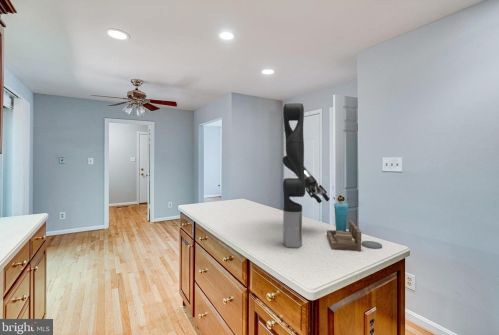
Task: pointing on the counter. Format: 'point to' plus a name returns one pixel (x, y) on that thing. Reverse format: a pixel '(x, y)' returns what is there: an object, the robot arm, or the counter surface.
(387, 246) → the counter surface
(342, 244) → the rack
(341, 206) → the tube
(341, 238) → the offcut stack
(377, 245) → the coaster
